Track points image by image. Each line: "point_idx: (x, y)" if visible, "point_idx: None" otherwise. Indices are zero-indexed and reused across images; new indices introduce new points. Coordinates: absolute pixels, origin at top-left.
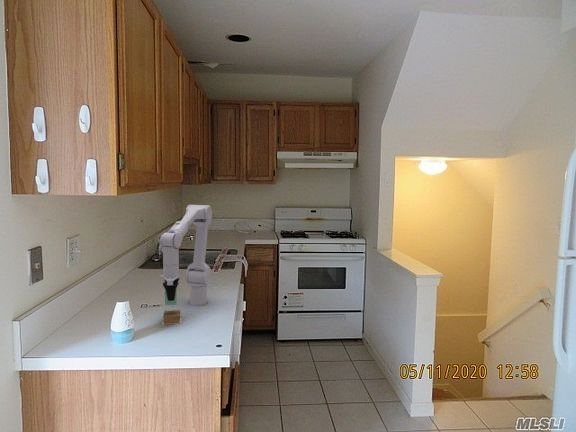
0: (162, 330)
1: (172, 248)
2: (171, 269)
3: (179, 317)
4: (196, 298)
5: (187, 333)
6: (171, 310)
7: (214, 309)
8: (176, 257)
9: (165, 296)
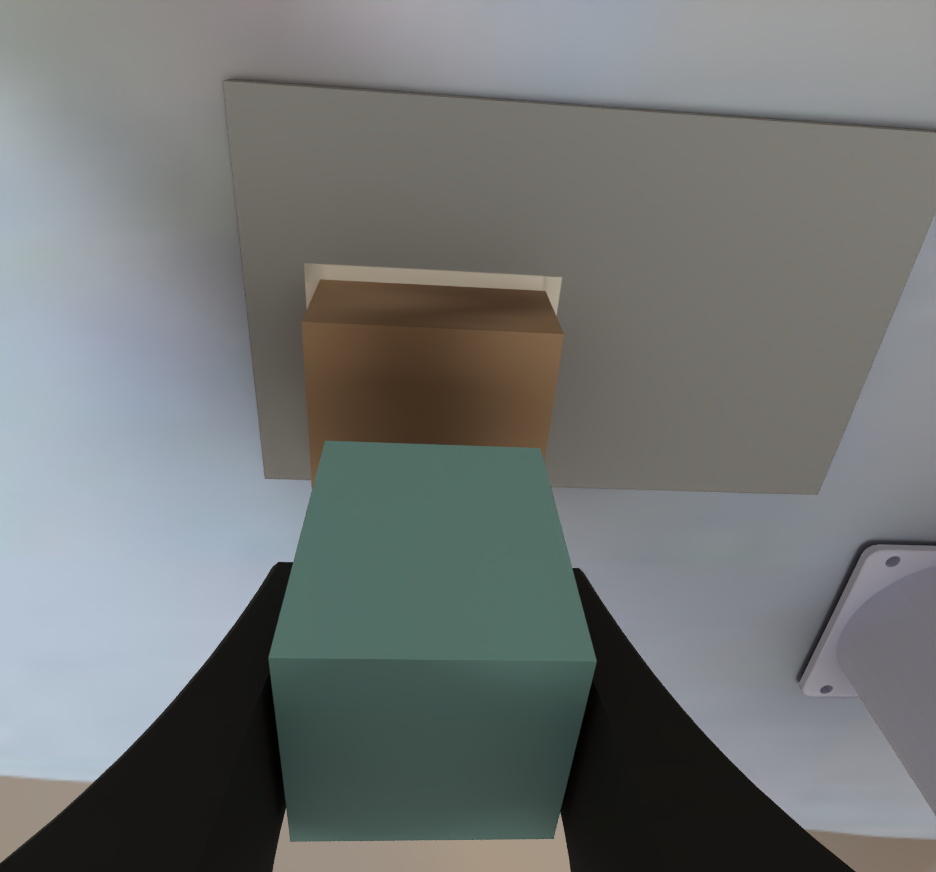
0: (169, 263)
1: None
2: None
3: None
4: (905, 686)
5: (74, 522)
6: (546, 433)
7: None
8: None
9: (293, 580)
